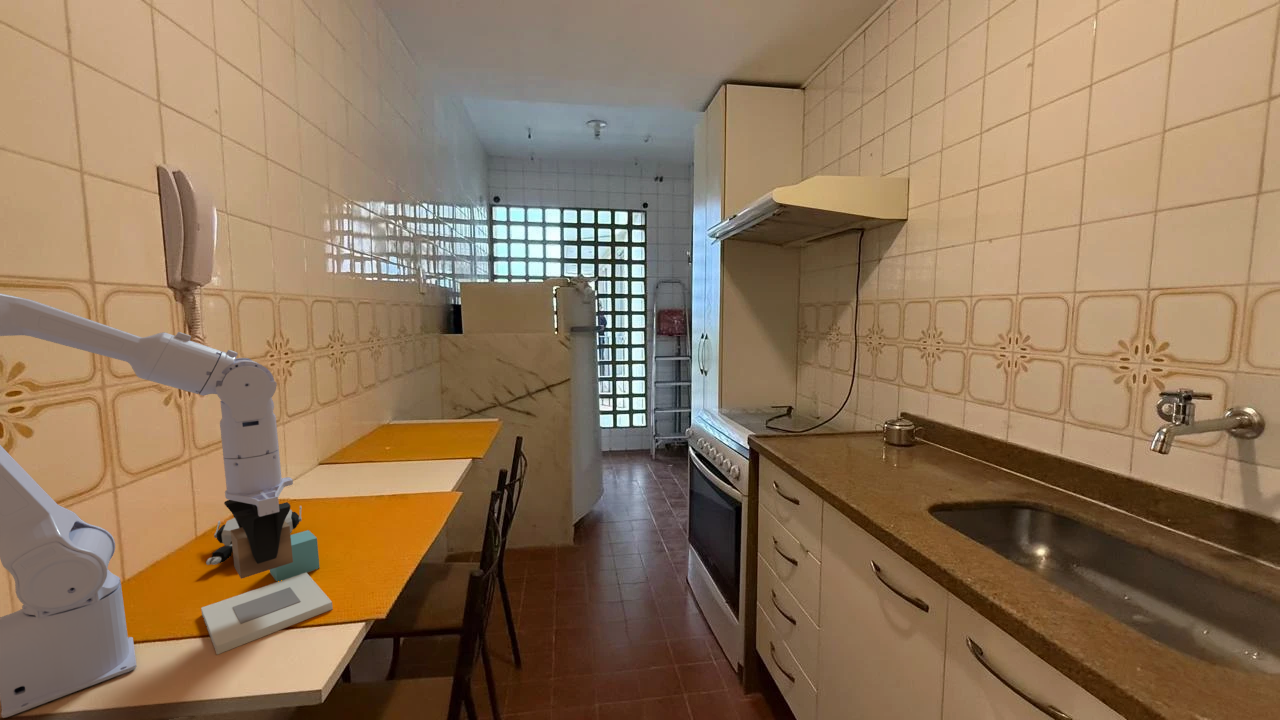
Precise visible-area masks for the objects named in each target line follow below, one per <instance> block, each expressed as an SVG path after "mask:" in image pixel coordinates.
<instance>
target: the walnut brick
mask: <svg viewBox="0 0 1280 720" xmlns="http://www.w3.org/2000/svg"><path fill="white" fill-rule="evenodd" d="M290 535H291V533H290V526H289V525H288V524H287V523H286V522H285V521H284V524H283V527H282V530H281V535H280V542H279V549H278V554H277V557H276V558H275V559H272V560H269V561H265V562H262V563H259V564H257V562H256V561H255V559H254V557H253V554H252V551H251V548H250V545H249V541H248V538H247V536H246V533H245V531H244V529H243V527H241V528H237V529H234V530H231V539H232V549H233V552H232V557H233V566H234V569H235V570H236V572H237V574H238V576H239V578H240V580H242V579H245V578H247V577H251V576H255V575H258V574H260V573H264V572H267V571H270V569H273V568H277V567H280V566H283V565H286V564H289V563H292V562H293V557H292V546H291V536H290Z"/></svg>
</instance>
